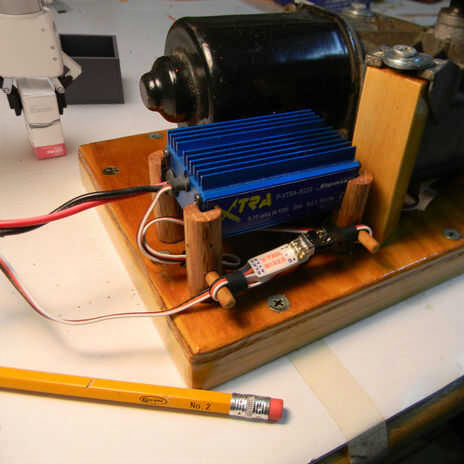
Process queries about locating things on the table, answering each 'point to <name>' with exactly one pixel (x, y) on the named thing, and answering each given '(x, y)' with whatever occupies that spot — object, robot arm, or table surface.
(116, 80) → the dark grey open bin
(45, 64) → the robot arm
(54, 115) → the ink box
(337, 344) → the table surface
